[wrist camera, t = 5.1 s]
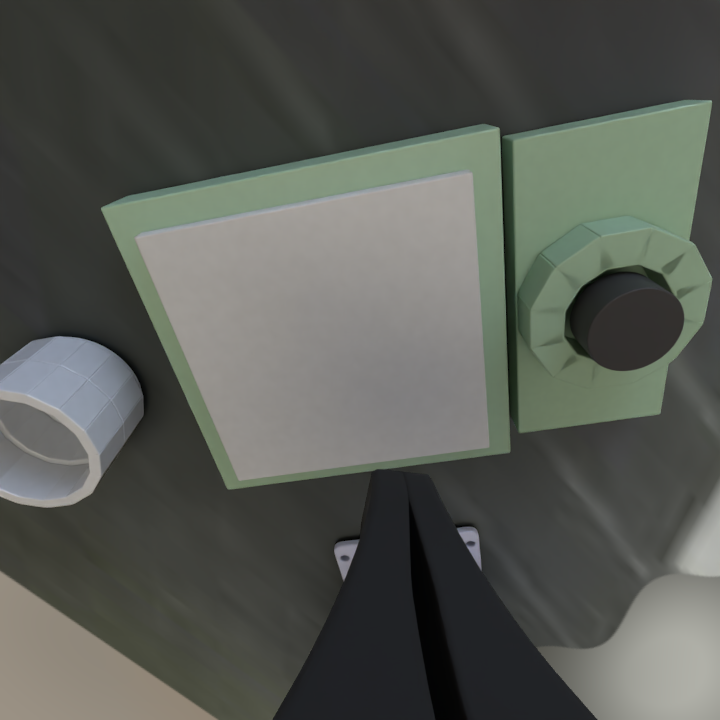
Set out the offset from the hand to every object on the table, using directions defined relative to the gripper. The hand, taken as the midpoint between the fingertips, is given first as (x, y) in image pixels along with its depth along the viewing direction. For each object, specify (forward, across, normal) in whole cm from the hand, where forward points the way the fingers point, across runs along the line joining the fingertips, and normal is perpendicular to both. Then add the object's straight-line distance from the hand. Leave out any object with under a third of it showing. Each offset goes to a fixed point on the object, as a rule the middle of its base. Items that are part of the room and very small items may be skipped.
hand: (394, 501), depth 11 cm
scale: (+10, +2, 0) cm, 10 cm away
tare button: (+7, -8, -3) cm, 11 cm away
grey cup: (+10, +13, +5) cm, 17 cm away
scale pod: (+10, -8, -3) cm, 13 cm away
